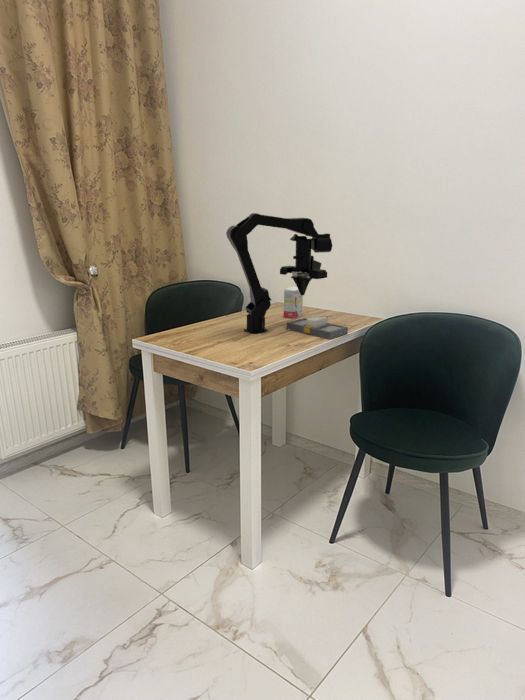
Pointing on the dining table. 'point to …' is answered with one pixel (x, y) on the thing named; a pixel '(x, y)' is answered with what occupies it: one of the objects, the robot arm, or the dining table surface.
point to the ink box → (292, 302)
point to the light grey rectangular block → (316, 322)
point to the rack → (318, 329)
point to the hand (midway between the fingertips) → (302, 295)
